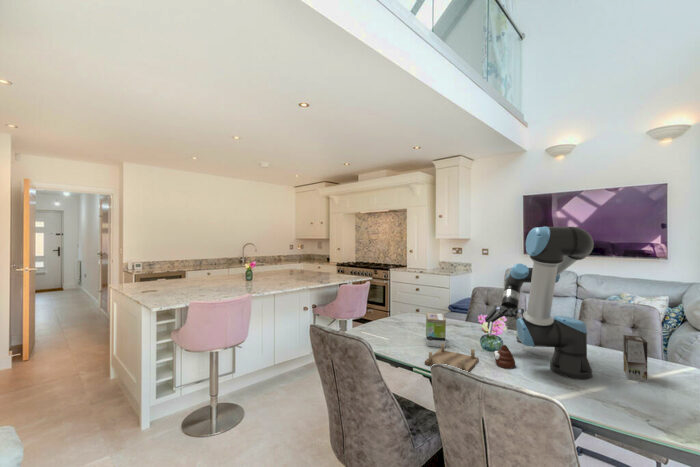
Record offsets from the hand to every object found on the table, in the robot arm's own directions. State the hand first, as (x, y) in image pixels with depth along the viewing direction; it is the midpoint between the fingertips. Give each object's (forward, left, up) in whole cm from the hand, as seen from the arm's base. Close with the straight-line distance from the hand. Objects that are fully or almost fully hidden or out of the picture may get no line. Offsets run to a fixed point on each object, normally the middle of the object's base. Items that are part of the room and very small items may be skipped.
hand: (504, 337), depth 152 cm
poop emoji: (-1, +6, -11) cm, 13 cm away
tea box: (+36, -5, -11) cm, 38 cm away
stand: (+19, +18, -11) cm, 29 cm away
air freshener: (-4, -36, -11) cm, 38 cm away
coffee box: (-48, -12, -11) cm, 50 cm away
